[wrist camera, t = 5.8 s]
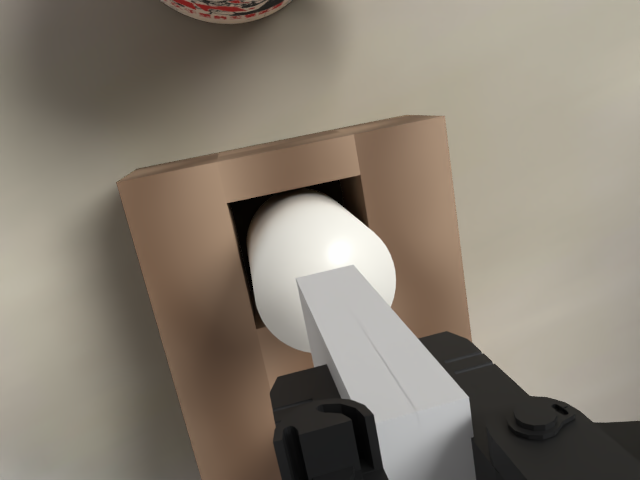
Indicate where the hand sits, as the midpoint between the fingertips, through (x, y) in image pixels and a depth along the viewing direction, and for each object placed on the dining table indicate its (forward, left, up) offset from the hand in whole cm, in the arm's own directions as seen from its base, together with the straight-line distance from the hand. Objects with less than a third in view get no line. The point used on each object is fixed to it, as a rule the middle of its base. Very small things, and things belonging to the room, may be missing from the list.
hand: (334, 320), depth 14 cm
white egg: (0, 0, -9) cm, 9 cm away
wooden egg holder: (0, +4, -11) cm, 12 cm away
